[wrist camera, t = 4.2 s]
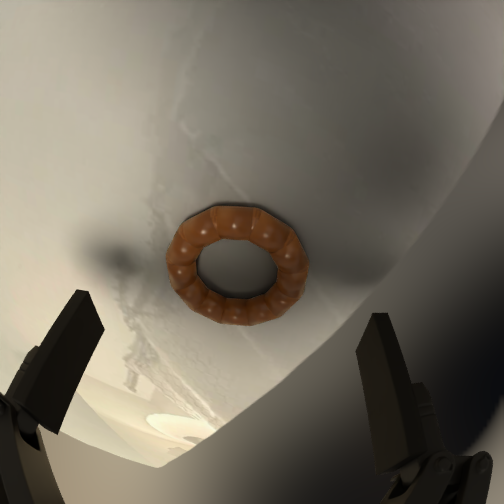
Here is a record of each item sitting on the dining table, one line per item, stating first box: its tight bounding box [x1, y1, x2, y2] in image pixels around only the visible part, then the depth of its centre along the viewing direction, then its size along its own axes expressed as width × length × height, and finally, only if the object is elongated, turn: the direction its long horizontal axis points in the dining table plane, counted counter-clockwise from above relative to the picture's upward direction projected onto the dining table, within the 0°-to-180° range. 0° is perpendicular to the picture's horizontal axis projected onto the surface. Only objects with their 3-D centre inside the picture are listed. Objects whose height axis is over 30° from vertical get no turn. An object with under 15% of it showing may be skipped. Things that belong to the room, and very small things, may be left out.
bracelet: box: [166, 206, 309, 326], centre depth 15 cm, size 8×8×2 cm
